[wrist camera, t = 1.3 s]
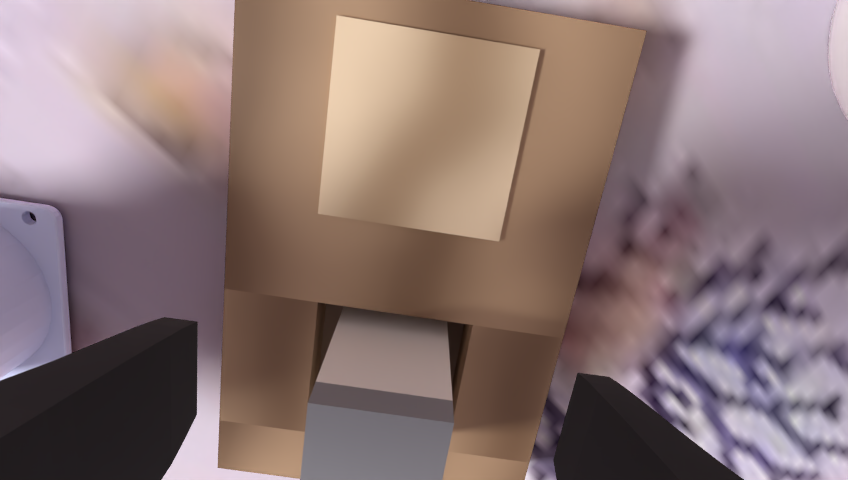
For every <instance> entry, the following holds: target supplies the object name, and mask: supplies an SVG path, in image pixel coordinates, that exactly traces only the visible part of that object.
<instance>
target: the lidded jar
mask: <svg viewBox="0 0 848 480" xmlns="http://www.w3.org/2000/svg"><path fill="white" fill-rule="evenodd" d="M828 68H829V73H830V78H831V84H832V88H833V90H834V93H835V96H836V98H837V101H838V103H839V106H840V108H841V110H842V112H843V113H844V115H845V117H846V118H847V120H848V0H837V2H836V5H835V9H834V13H833V16H832V20H831V25H830V32H829V40H828Z"/></svg>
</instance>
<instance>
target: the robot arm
mask: <svg viewBox="0 0 848 480" xmlns="http://www.w3.org/2000/svg"><path fill="white" fill-rule="evenodd" d="M30 212H32V213H33V214H34V215H35V217H36V221H34V220H33V219H32V218H31V217H30ZM196 415H197V322H195V321H188V320H180V319H173V318H165V317H164V318H161V319H157V320H154V321H151V322H148V323H146V324H143V325H140V326H138V327H135V328H132V329H130V330H127V331H125V332H122V333H120V334H117V335H115V336H113V337H110V338H108V339H105V340H103V341H100V342H98V343H96V344H93V345H91V346H88V347H86V348H83V349H81V350H78V351H76V352H73V353H72V349H71V334H70V320H69V305H68V290H67V276H66V261H65V246H64V232H63V219H62V215H61V214H60V212H59V211H58V210H57V209H56V208H55V207H53V206H50V205H45V204H39V203H32V202H25V201H19V200H12V199H5V198H0V480H161V479H162V478H163V476H164V475H165V473H166V472H167V470H168V469H169V467H170V466H171V464H172V462H173V460H174V458H175V456H176V455H177V453H178V451H179V449H180V447H181V445H182V443H183V441H184V439H185V437H186V435H187V433H188V431H189V429H190V427H191V425H192V423H193V421H194V419H195V417H196ZM554 466H555V472H556V478H557V480H744V479H742V478H741V477H739V476H738V475H737V474H735V473H734V472H732V471H731V470H730V469H728V468H727V467H726V466H724V465H723V464H722V463H720V462H719V461H718V460H716V459H715V458H714V457H712V456H711V455H710V454H709V453H707V452H706V451H705V450H703V449H702V448H701V447H699V446H698V445H697V444H696V443H694V442H693V441H692V440H691V439H689V438H688V437H687V436H685V435H684V434H683V433H682V432H680V431H679V430H678V429H677V428H675V427H674V426H673V425H672V424H670V423H669V422H668V421H667V420H665V419H664V418H663V417H662V416H660V415H659V414H658V413H657V412H655V411H654V410H653V409H652V408H650V407H649V406H648V405H647V404H645V403H644V402H643V401H641V400H640V399H639V398H638V397H636V396H635V395H634V394H632V393H631V392H630V391H629V390H627V389H626V388H625V387H623V386H622V385H620V384H619V383H618V382H616V381H614V380H613V379H611V378H610V377H605V376H598V375H590V374H583V373H577V377H576V381H575V384H574V388H573V391H572V395H571V399H570V402H569V406H568V409H567V413H566V417H565V420H564V424H563V428H562V431H561V435H560V438H559V442H558V446H557V449H556V453H555V456H554Z"/></svg>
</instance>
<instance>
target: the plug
mask: <svg viewBox="0 0 848 480" xmlns="http://www.w3.org/2000/svg"><path fill="white" fill-rule="evenodd" d="M453 426H454V413H453V399H452V385H451V371H450V356H449V342H448V328H447V321H442V320H435V319H428V318H421V317H414V316H408V315H401V314H394V313H387V312H380V311H373V310H367V309H360V308H353V307H346V306H344V307H343V310H342V312H341V315H340V318H339V320H338V323H337V326H336V328H335V331H334V334H333V337H332V339H331V342H330V345H329V347H328V350H327V353H326V355H325V358H324V361H323V363H322V366H321V369H320V371H319V374H318V377H317V379H316V382H315V385H314V388H313V390H312V393H311V396H310V398H309V401H308V406H307V416H306V426H305V436H304V446H303V456H302V466H301V476H300V480H442V479H443V474H444V469H445V465H446V460H447V455H448V450H449V446H450V441H451V436H452V431H453Z"/></svg>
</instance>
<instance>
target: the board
mask: <svg viewBox="0 0 848 480" xmlns="http://www.w3.org/2000/svg"><path fill="white" fill-rule="evenodd" d="M646 32H647V31H645V30H639V29H634V28H628V27H622V26H616V25H610V24H604V23H599V22H593V21H587V20H581V19H575V18H569V17H563V16H558V15H552V14H546V13H540V12H534V11H528V10H523V9H517V8H511V7H505V6H499V5H493V4H488V3H482V2H476V1H470V0H235V13H234V40H233V67H232V94H231V121H230V149H229V176H228V203H227V230H226V257H225V284H224V312H223V339H222V366H221V393H220V420H219V447H218V468H224V469H231V470H239V471H246V472H254V473H261V474H269V475H276V476H284V477H291V478H299V479H300V476H301V466H302V456H303V446H304V436H305V426H306V416H307V406H308V401H309V398H310V396H311V393H312V390H313V388H314V385H315V382H316V379H317V377H318V374H319V371H320V369H321V366H322V363H323V361H324V358H325V355H326V353H327V350H328V347H329V345H330V342H331V339H332V337H333V334H334V331H335V328H336V326H337V323H338V320H339V318H340V315H341V312H342V310H343V307H344V306H346V307H353V308H360V309H367V310H373V311H380V312H387V313H394V314H401V315H408V316H414V317H421V318H428V319H435V320H442V321H447V328H448V342H449V356H450V371H451V385H452V399H453V413H454V426H453V431H452V436H451V441H450V446H449V450H448V455H447V460H446V465H445V469H444V474H443V479H442V480H525V476H526V472H527V469H528V465H529V461H530V458H531V454H532V450H533V447H534V443H535V439H536V436H537V432H538V428H539V425H540V421H541V417H542V414H543V410H544V406H545V403H546V399H547V395H548V392H549V388H550V384H551V381H552V377H553V373H554V370H555V366H556V362H557V359H558V355H559V351H560V347H561V344H562V340H563V336H564V333H565V329H566V325H567V322H568V318H569V314H570V311H571V307H572V303H573V300H574V296H575V292H576V289H577V285H578V281H579V278H580V274H581V270H582V267H583V263H584V259H585V256H586V252H587V248H588V245H589V241H590V237H591V234H592V230H593V226H594V223H595V219H596V215H597V212H598V208H599V204H600V201H601V197H602V193H603V190H604V186H605V182H606V179H607V175H608V171H609V168H610V164H611V160H612V157H613V153H614V149H615V146H616V142H617V138H618V135H619V131H620V127H621V124H622V120H623V116H624V113H625V109H626V105H627V102H628V98H629V94H630V91H631V87H632V83H633V80H634V76H635V72H636V69H637V65H638V61H639V58H640V54H641V50H642V46H643V43H644V39H645V35H646Z"/></svg>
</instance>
